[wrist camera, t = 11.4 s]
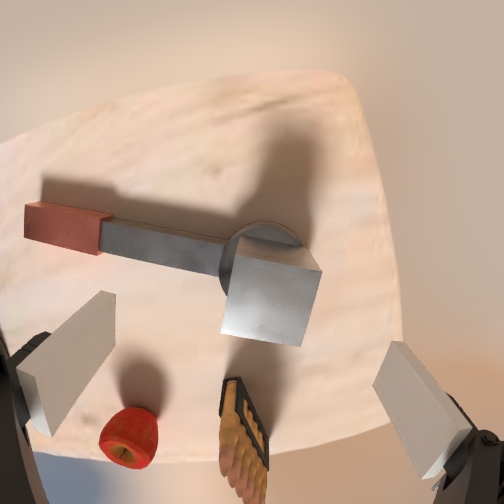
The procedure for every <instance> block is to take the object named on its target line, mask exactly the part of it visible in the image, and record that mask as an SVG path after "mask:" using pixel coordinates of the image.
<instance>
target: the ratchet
mask: <svg viewBox="0 0 504 504" xmlns="http://www.w3.org/2000/svg"><path fill="white" fill-rule="evenodd" d="M241 235H246V236H251V237H256V238H261V239H266V240H271V241H276V242H281V243H286V244H291V245H296V246H301V247H303V246H302V244H301V243H300V241H299V240H298V238H297V237H296V236H295V234H294V233H293V232H292V231H290V230H289V229H288V228H286V227H284V226H283V225H280V224H278V223H274V222H269V221H259V222H254V223H250V224H248V225H245V226H244V227H242V228H240V229H239V230H238V231H236V232H235V233H234V234H233V235H232V237H231V238H230V239H229V240H226V239H221V238H216V237H211V236H206V235H201V234H195V233H190V232H185V231H180V230H174V229H169V228H164V227H159V226H153V225H148V224H143V223H137V222H132V221H127V220H121V219H116V218H113V215H112V214H107V213H101V212H96V211H90V210H85V209H79V208H74V207H68V206H62V205H57V204H51V203H46V202H36V203H31V204H26V205H25V214H24V238H28V239H32V240H35V241H39V242H43V243H47V244H51V245H55V246H59V247H63V248H67V249H71V250H75V251H79V252H84V253H88V254H92V255H96V256H98V255H100V254H102V253H103V252H105V253H109V254H114V255H118V256H123V257H127V258H132V259H136V260H141V261H145V262H150V263H155V264H159V265H164V266H169V267H173V268H178V269H183V270H188V271H193V272H198V273H203V274H207V275H212V276H217V277H219V279H220V283H221V286H222V289H223V291H224V292H225V294H226V296H227V295H228V290H229V285H230V279H231V274H232V269H233V263H234V258H235V254H236V250H237V247H238V243H239V240H240V236H241Z"/></svg>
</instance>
